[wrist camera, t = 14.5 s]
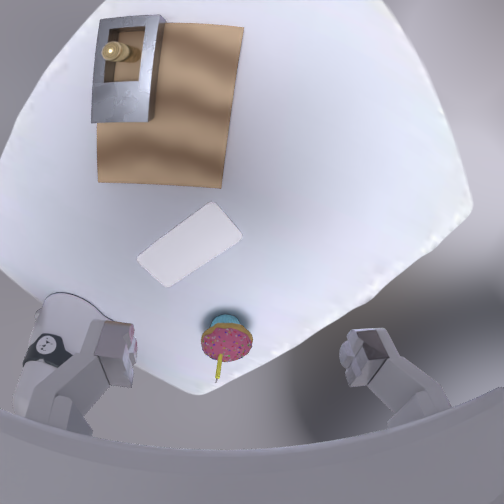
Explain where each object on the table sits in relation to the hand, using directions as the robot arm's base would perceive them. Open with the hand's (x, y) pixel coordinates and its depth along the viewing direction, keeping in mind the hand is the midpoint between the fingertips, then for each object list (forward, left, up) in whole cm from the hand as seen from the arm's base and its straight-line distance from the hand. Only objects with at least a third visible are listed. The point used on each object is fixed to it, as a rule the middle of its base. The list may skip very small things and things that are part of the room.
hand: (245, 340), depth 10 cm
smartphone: (-15, +4, -30) cm, 34 cm away
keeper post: (+11, +12, -28) cm, 32 cm away
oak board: (+5, +8, -29) cm, 31 cm away
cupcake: (-30, -3, -29) cm, 42 cm away
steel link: (+9, +12, -28) cm, 31 cm away
